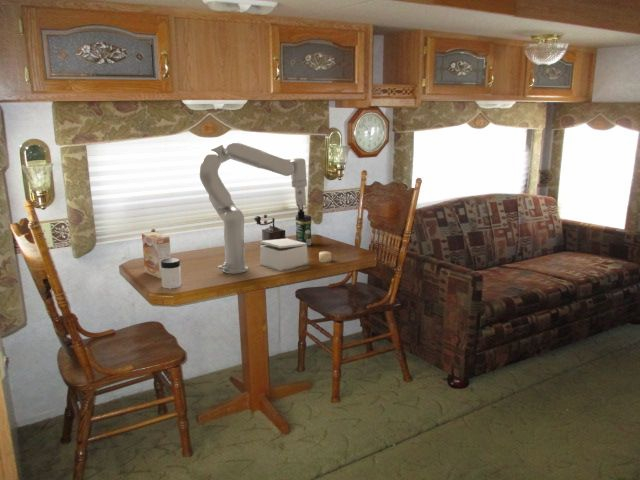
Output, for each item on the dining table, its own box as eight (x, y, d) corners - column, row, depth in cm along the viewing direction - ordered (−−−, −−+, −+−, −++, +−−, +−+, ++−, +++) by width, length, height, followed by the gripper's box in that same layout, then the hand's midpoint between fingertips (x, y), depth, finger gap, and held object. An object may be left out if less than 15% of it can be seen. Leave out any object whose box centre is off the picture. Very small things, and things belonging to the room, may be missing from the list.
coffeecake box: (144, 272, 265) (141, 233, 261) (157, 269, 270) (154, 231, 265) (159, 278, 255) (156, 238, 250) (172, 275, 260) (170, 236, 255)
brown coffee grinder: (276, 242, 326) (275, 213, 322) (286, 245, 318) (285, 215, 314) (253, 246, 317) (252, 216, 313) (263, 249, 309) (262, 218, 305)
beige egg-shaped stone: (325, 263, 280) (325, 255, 279) (316, 261, 284) (316, 252, 283) (333, 261, 284) (333, 252, 283) (325, 258, 289) (325, 250, 288)
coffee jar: (293, 244, 320) (293, 213, 316) (304, 242, 325) (304, 212, 321) (302, 247, 313) (302, 216, 308) (313, 245, 317) (313, 214, 313)
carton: (280, 271, 266) (280, 251, 263) (260, 264, 277) (259, 246, 275) (307, 264, 278) (307, 245, 276) (286, 258, 289) (286, 240, 287)
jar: (165, 290, 238) (163, 264, 235) (159, 285, 244) (157, 260, 242) (184, 286, 243) (183, 260, 240) (178, 282, 249) (176, 257, 247)
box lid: (280, 248, 263) (280, 245, 263) (260, 242, 274) (260, 240, 274) (307, 245, 276) (308, 243, 276) (287, 240, 287) (287, 238, 287)
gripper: (307, 185, 262) (309, 221, 267) (306, 180, 277) (308, 215, 281) (291, 186, 262) (294, 222, 266) (291, 181, 276) (293, 216, 281)
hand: (301, 219), depth 274 cm, fingers closed
